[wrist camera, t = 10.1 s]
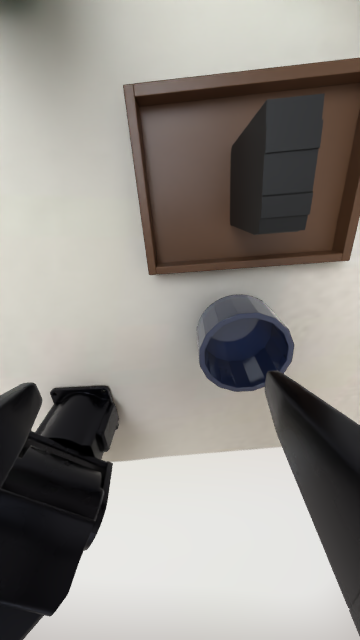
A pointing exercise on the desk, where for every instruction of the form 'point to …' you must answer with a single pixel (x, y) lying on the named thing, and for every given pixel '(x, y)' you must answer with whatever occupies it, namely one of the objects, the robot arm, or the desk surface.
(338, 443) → the robot arm
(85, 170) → the desk surface
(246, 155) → the ink cartridge
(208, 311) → the cup
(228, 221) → the tray
